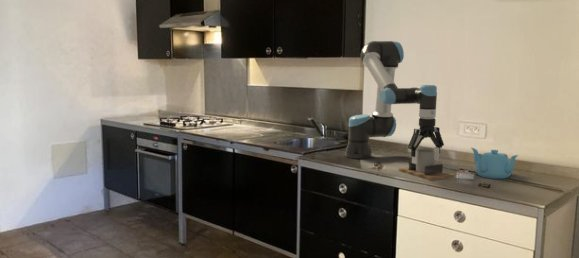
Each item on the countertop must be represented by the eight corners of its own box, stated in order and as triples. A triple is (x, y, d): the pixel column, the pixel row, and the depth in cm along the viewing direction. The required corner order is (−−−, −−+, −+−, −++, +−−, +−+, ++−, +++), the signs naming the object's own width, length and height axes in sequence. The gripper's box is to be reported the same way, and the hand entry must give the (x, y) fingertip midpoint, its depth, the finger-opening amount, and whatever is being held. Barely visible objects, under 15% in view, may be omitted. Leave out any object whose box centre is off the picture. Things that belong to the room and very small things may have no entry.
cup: (419, 168, 240) (420, 148, 238) (436, 170, 235) (437, 150, 233) (413, 171, 233) (413, 151, 231) (429, 174, 228) (430, 153, 227)
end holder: (398, 170, 240) (399, 160, 240) (420, 168, 247) (421, 157, 246) (430, 180, 221) (430, 169, 220) (453, 177, 227) (453, 166, 227)
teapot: (476, 179, 223) (478, 153, 221) (469, 170, 241) (470, 146, 239) (517, 181, 220) (518, 154, 218) (506, 172, 238) (508, 147, 236)
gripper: (412, 120, 221) (410, 166, 224) (452, 117, 232) (450, 161, 236) (401, 118, 228) (399, 163, 231) (441, 115, 239) (439, 158, 242)
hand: (425, 162), depth 233 cm, fingers open, 13 cm apart
